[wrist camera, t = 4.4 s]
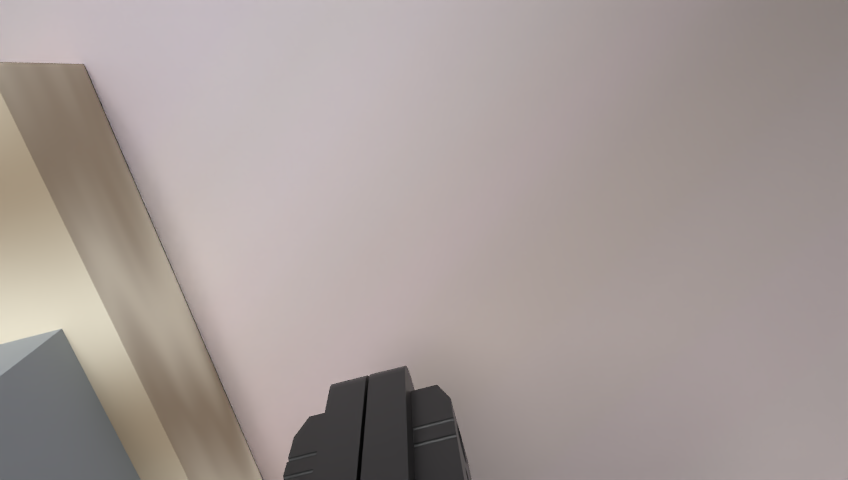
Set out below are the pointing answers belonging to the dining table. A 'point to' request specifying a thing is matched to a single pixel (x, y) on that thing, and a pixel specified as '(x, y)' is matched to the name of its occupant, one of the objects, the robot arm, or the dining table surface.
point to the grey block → (54, 416)
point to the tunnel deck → (104, 279)
